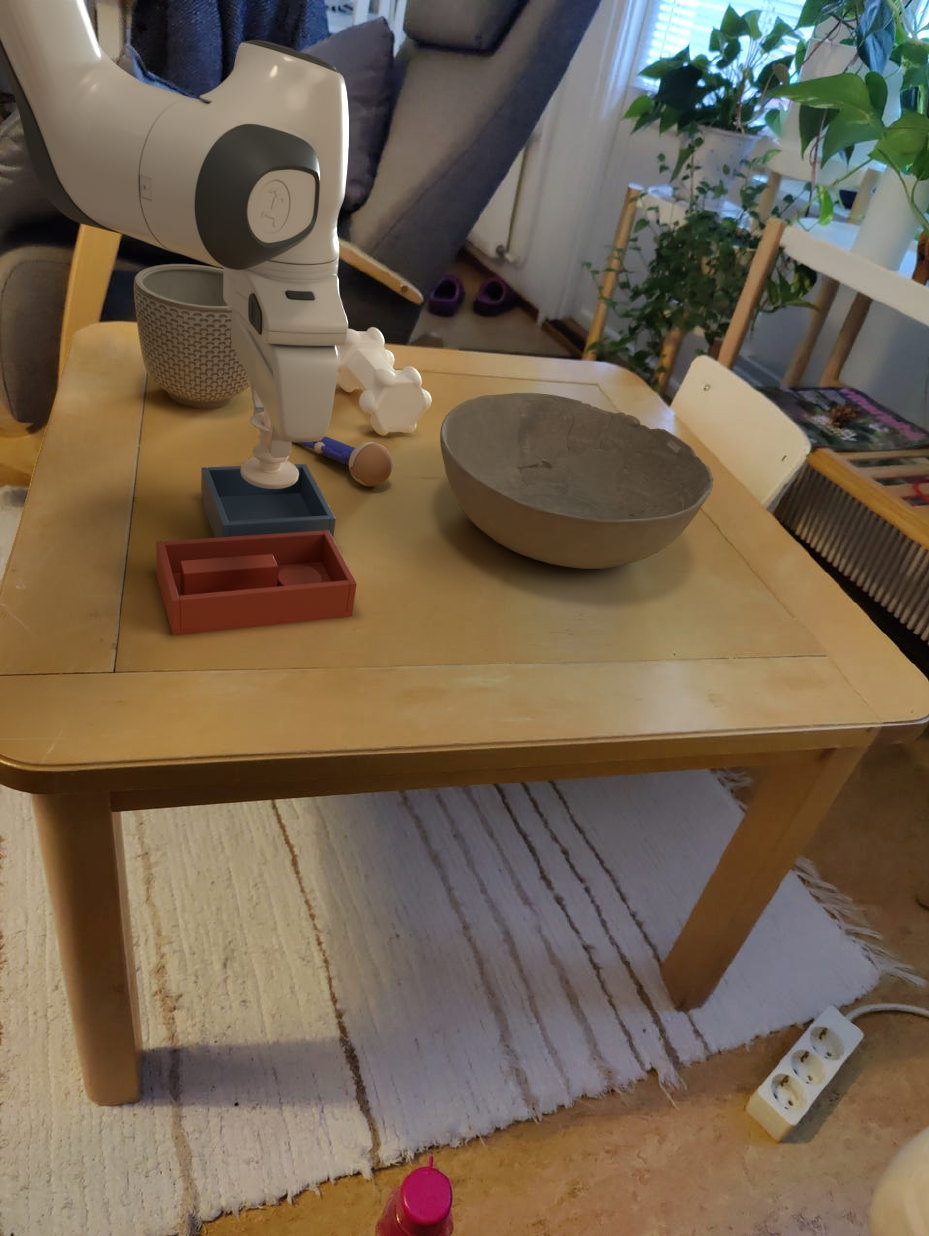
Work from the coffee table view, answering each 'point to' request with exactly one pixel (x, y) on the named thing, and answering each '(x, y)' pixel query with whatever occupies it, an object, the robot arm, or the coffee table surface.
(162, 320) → the planter
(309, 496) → the blue bin
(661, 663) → the coffee table surface
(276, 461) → the candle
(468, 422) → the bowl
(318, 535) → the red bin
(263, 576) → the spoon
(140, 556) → the coffee table surface
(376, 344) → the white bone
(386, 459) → the toy
